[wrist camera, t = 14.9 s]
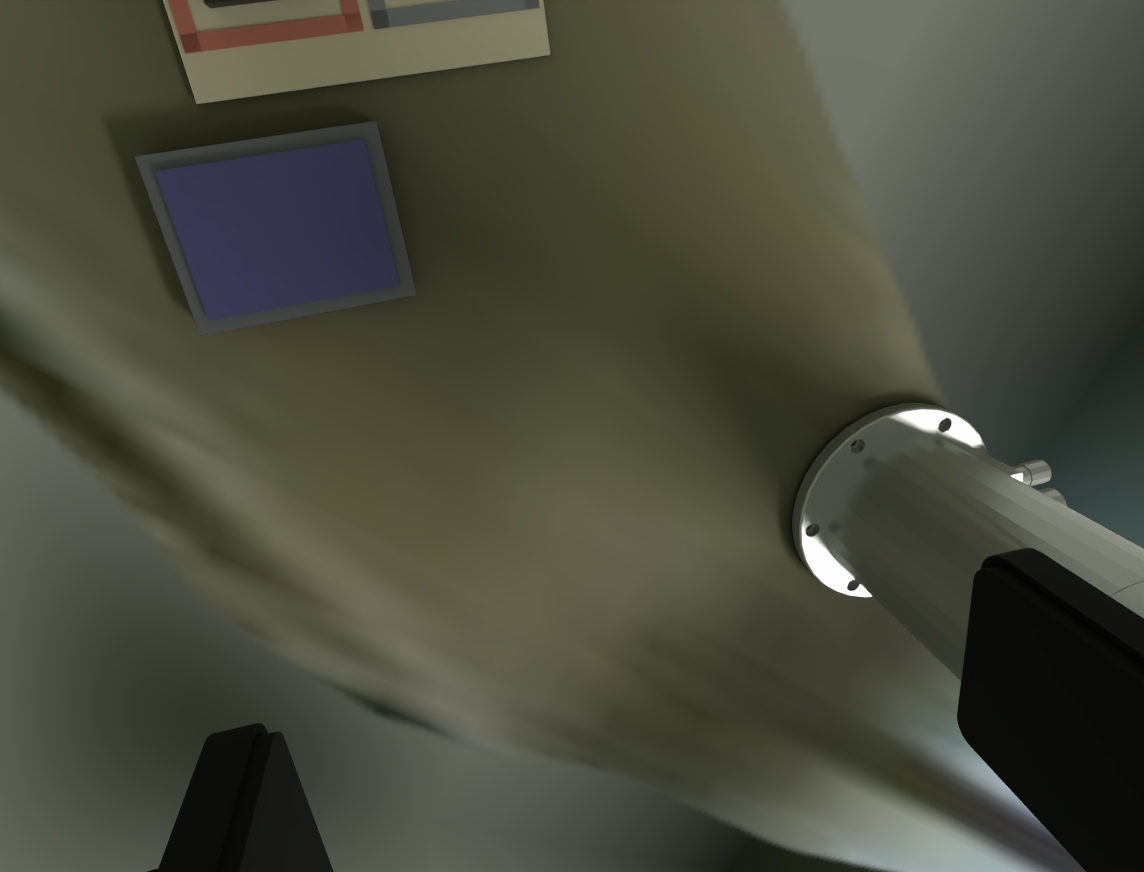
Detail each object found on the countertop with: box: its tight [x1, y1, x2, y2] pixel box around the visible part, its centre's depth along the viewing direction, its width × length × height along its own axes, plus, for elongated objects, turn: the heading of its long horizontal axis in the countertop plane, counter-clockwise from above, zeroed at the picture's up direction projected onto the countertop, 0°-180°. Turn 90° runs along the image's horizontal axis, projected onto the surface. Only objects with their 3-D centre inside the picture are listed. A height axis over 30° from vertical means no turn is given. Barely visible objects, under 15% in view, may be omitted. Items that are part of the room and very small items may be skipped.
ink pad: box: [135, 121, 417, 336], centre depth 29 cm, size 9×7×2 cm
